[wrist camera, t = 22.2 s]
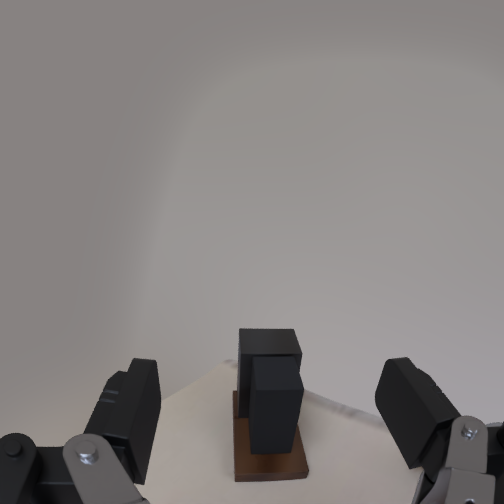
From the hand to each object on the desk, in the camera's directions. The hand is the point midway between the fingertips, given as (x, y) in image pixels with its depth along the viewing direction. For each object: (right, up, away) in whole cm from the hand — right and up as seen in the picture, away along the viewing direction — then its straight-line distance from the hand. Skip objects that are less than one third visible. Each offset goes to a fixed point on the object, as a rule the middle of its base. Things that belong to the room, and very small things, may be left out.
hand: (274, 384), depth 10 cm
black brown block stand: (+1, -16, +21) cm, 26 cm away
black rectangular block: (+1, -15, +19) cm, 24 cm away
